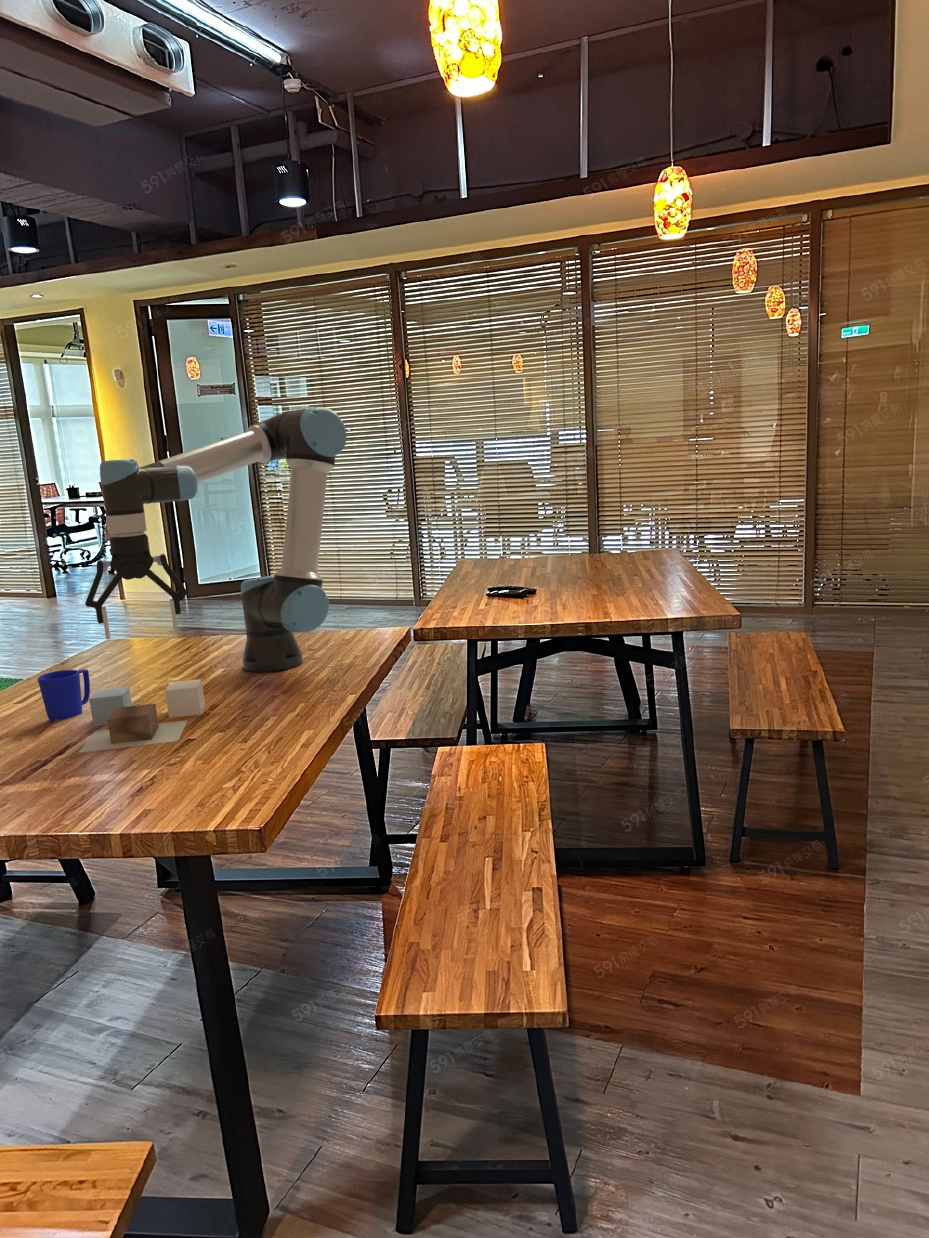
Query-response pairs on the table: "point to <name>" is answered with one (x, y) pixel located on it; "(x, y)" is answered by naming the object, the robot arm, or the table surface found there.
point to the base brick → (133, 723)
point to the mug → (64, 693)
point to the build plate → (162, 735)
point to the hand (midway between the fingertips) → (142, 633)
